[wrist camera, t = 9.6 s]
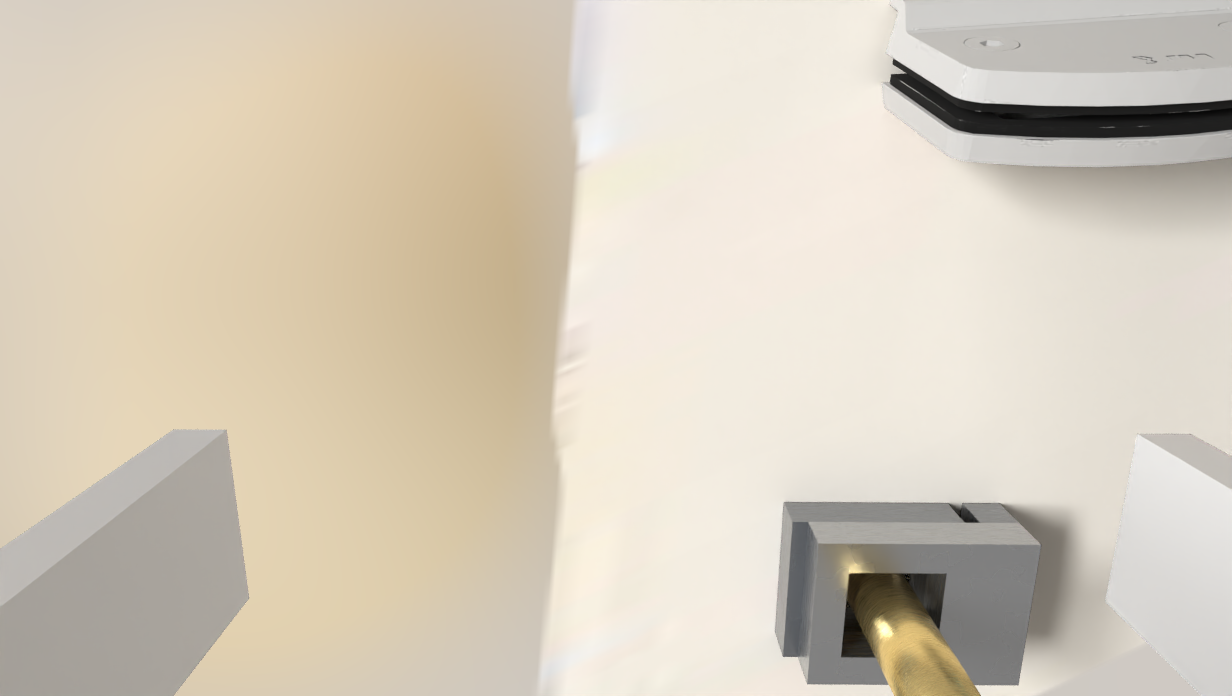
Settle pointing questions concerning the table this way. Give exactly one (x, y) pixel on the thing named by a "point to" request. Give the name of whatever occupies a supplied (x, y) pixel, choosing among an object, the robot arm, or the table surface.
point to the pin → (905, 638)
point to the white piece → (1065, 80)
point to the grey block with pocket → (939, 575)
